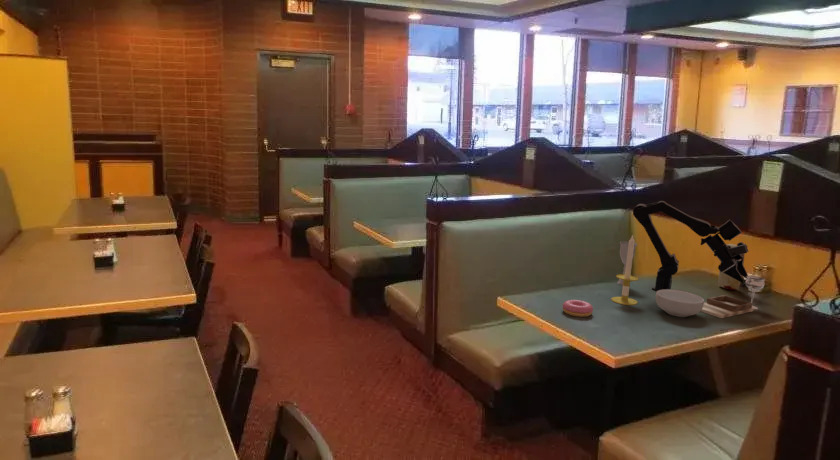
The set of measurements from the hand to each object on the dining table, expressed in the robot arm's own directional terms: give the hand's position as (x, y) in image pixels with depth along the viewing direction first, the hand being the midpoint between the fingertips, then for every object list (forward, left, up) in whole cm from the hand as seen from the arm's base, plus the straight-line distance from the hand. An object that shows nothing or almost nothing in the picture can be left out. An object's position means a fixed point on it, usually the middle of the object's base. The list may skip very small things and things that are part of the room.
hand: (745, 279), depth 251 cm
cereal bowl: (-36, +4, -11) cm, 38 cm away
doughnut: (-72, +20, -11) cm, 75 cm away
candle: (-43, +23, -11) cm, 50 cm away
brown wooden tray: (-14, 0, -10) cm, 17 cm away
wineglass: (+1, -3, -11) cm, 11 cm away
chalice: (-22, +41, -11) cm, 47 cm away
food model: (+18, +17, -11) cm, 27 cm away
